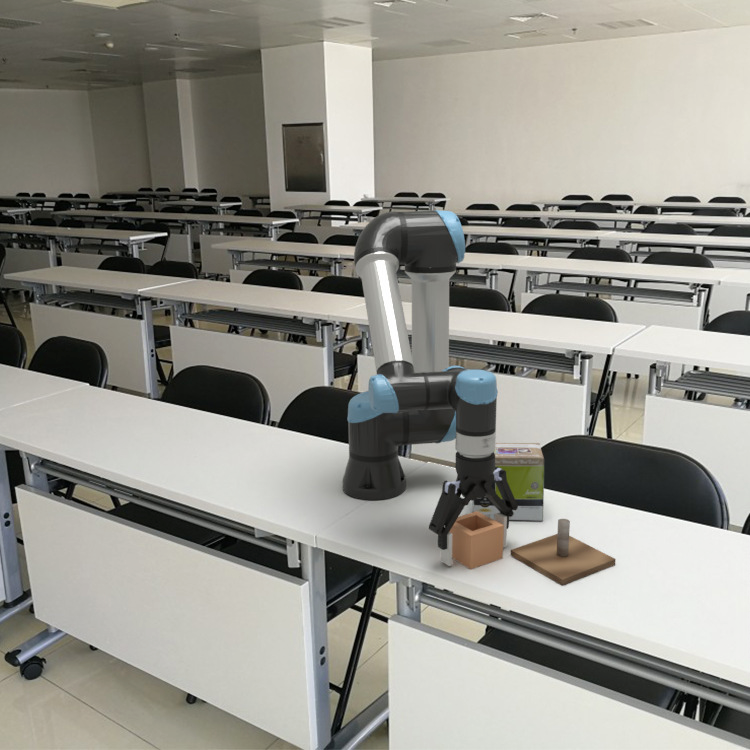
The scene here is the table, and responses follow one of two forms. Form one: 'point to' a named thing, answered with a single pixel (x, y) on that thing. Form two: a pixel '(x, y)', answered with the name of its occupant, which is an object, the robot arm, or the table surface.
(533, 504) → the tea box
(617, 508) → the table surface
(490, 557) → the collar
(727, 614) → the table surface
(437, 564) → the table surface
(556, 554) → the post board
